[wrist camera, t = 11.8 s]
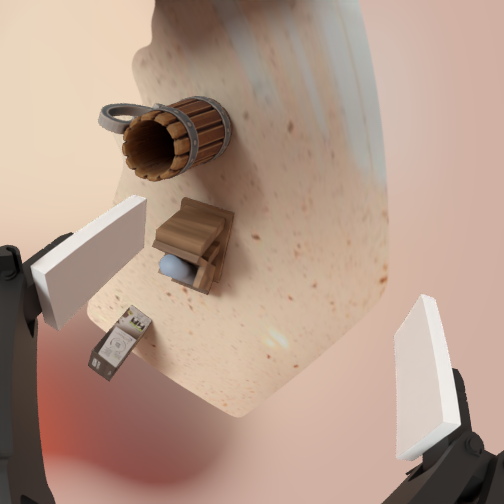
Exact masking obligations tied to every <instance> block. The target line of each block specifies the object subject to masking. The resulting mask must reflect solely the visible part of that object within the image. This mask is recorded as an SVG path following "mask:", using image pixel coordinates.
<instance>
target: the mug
mask: <svg viewBox="0 0 504 504" xmlns="http://www.w3.org/2000/svg"><path fill="white" fill-rule="evenodd" d="M120 115H130V116H133V118H132V120H130V121H123V120H119V119H116V118H114V117H113V116H120ZM136 116H137V117H136ZM98 123H99V124H100V125H101V126H102V127H103V128H105V129H106V130H109V131H111V132H114V133H118V134H124V136H123V140H124V141H126V142H125V143H123V146H122V152H123V154H124V156H127V159H126V164H127V165H128V167H129V168H130V169H132V170H135V174H136V175H137V176H138V177H140V178H143V179H148V180H149V181H161V180H163V179H164V180H165V179H170V178H172V177H174V176H177V175H179V174H181V173H183V172H185V171H186V170H187V169H190V168H192V167H194V166H197V165H199V164H204V163H206V162H209V161H211V160H214V159H216V158H217V157H218V156H219V155H221V154H222V153H223V151H224V150H225V149H226V147H227V146H228V144H229V142H230V135H231V134H232V126H231V122H230V121H229V115H228V113H227V112H226V110H225V109H224V108H223V107H221V106H220V104H219V103H218V102H216V101H215V100H213V99H211V98H207V97H201V96H194V97H189V98H186V99H182V100H181V101H179V102H177V103H174V104H171V105H168V106H165V105H162V104H154V106H153V108H150V107H146V106H141V105H136V104H126V103H124V104H122V103H120V104H110V105H107V106H104V107H103V108H102V109H101V112H100V116H99V119H98Z"/></svg>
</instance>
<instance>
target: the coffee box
mask: <svg viewBox="0 0 504 504" xmlns="http://www.w3.org/2000/svg"><path fill="white" fill-rule="evenodd" d="M151 321H152V320H151V319H149V318H148V317H147V316H145V315H144V314H143V313H142V312H140V311H139V310H138V309H136V308H135V307H134V306H133V305H131V306H130V307H129V308H128V309H127V311H126V312H125V313H124V314H123V315H122V316H121V317H120V319H119V320H118V321H117V322H116V323H115V324H114V326H113V327H112V328H111V329H110V330H109V331H108V332H107V334H106V335H105V336H104V337H103V338H102V339H101V341H100V342H99V343H98V344H97V346H96V347H95V348H94V349H93V350H92V353H91V356H90V360H89V363H88V366H89V367H90V368H91V369H93V370H94V371H95V372H97V373H98V374H99V375H101V376H102V377H104V378H105V379H106V380H108V381H110V380H111V378H112V377H113V376H114V374H115V373H116V372H117V370H118V369H119V367H120V366H121V365H122V363H123V362H124V361H125V359H126V358H127V356H128V355H129V354H130V352H131V351H132V350H133V348H134V347H135V346H136V344H137V343H138V341H139V340H140V339H141V337H142V336H143V334H144V333H145V331H146V329H147V328H148V326H149V324H150V323H151Z"/></svg>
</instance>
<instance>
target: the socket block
mask: <svg viewBox="0 0 504 504" xmlns="http://www.w3.org/2000/svg"><path fill="white" fill-rule="evenodd" d="M233 216H234V213H233V212H229V211H226V210H223V209H220V208H217V207H214V206H211V205H208V204H205V203H202V202H199V201H195V200H192V199H189V198H186V197H184V198H183V199H182V201H181V209H180V210H179V211H178V212H177V213H176V214H174V215H173V216H172V217H171V218H170V219H169V220H167V221H166V222H165V223H164V224H163V225H161V226H160V227H159V228H158V229H157V230H156V240H154V243H153V245H152V247H154V248H157V249H159V250H161V251H163V252H165V255H168V254H172V255H174V256H176V257H178V258H180V259H181V260H183V261H185V262H186V263H188V264H190V265H191V266H193V267H195V268H197V269H198V272H197V275H196V277H195V280H194V283H193V285H189V284H187V283H184V282H182V281H179V280H176V279H174V278H172V280H171V281H173V282H176V283H178V284H181V285H183V286H186V287H189V288H191V289H194V290H196V291H199V292H201V293H204V294H207V295H208V293H209V290H210V288H211V285H212V282H213V281H214V282H217V283H218V282H219V280H220V277H221V272H222V267H223V263H224V258H225V253H226V248H227V244H228V239H229V234H230V230H231V225H232V221H233ZM165 255H164V256H165ZM158 273H161V274H163V273H162V272H161V270H160V268H159V271H158ZM163 275H164V274H163Z"/></svg>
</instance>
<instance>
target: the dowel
mask: <svg viewBox="0 0 504 504" xmlns="http://www.w3.org/2000/svg"><path fill="white" fill-rule="evenodd" d="M159 267H160V270H161V272H162V273H163V274H164V275H166V276H169V277H171V278H174V279H176V280H179V281H182V282H184V283H187V284H189V285H193V283H194V280H195V277H196V275H197V272H198V269H197V268H195V267H193V266H191V265H190V264H188V263H186V262H185V261H183V260H181V259H180V258H178V257H176V256H174V255H172V254H168V255H165V256H164V257H163V258H162V259H161V261H160V264H159Z"/></svg>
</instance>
